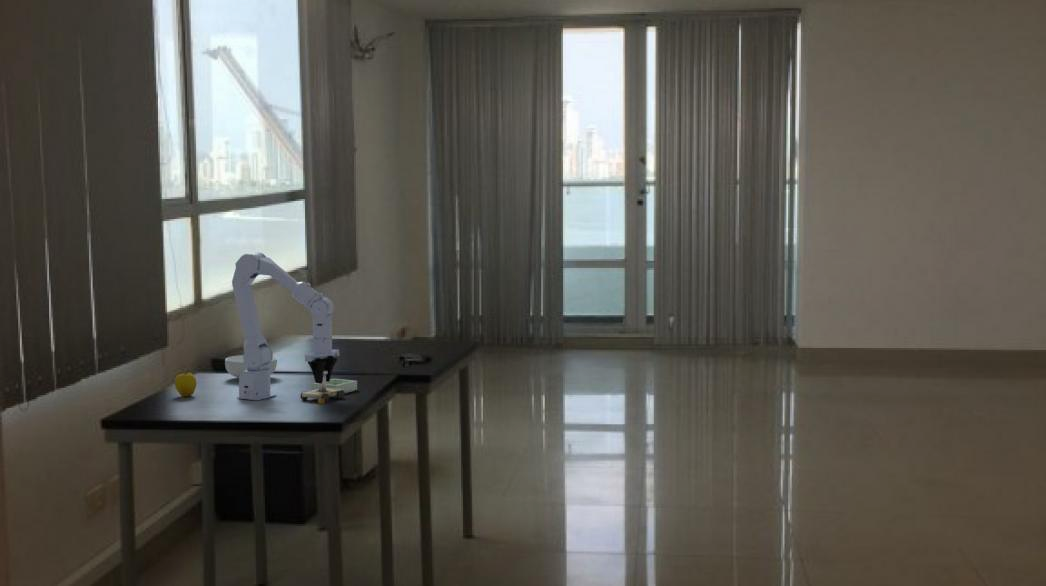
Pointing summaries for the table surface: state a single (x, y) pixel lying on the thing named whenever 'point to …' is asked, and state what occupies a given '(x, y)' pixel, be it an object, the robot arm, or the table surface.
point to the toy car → (322, 394)
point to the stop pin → (323, 385)
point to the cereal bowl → (243, 365)
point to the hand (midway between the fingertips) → (322, 382)
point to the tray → (339, 385)
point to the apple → (185, 384)
